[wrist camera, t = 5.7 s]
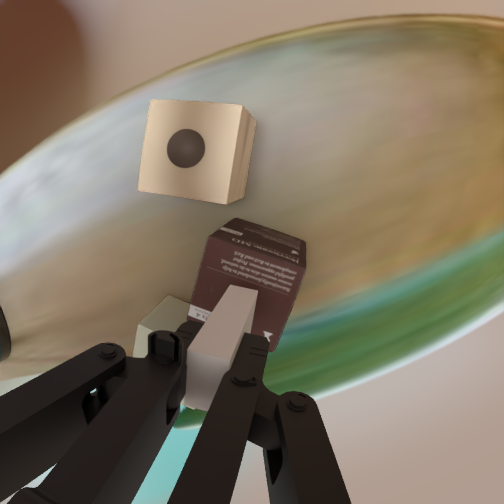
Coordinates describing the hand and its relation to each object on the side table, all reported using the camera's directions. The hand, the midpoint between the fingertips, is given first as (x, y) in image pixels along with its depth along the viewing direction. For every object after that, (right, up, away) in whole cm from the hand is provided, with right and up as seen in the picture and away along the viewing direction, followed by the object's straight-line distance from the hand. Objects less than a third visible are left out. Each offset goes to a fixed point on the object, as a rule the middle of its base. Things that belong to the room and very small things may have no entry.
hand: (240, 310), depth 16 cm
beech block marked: (-2, +11, +7) cm, 13 cm away
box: (+1, +2, +9) cm, 9 cm away
